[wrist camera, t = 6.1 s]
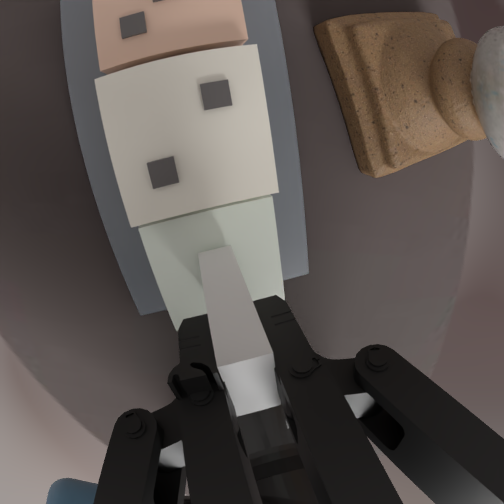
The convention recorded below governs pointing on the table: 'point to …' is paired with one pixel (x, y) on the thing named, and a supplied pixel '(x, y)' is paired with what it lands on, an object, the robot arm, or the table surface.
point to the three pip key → (163, 29)
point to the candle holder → (412, 86)
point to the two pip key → (188, 132)
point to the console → (101, 168)
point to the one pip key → (208, 238)
